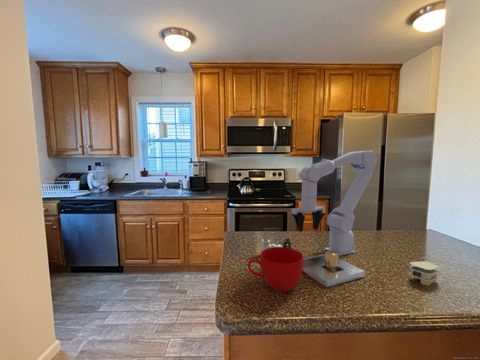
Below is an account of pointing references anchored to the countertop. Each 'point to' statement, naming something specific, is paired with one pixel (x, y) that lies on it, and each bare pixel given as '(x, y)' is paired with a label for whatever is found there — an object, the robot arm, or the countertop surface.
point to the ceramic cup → (280, 267)
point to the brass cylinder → (331, 261)
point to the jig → (317, 271)
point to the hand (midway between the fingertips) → (307, 230)
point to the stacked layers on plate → (424, 272)
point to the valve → (266, 244)
